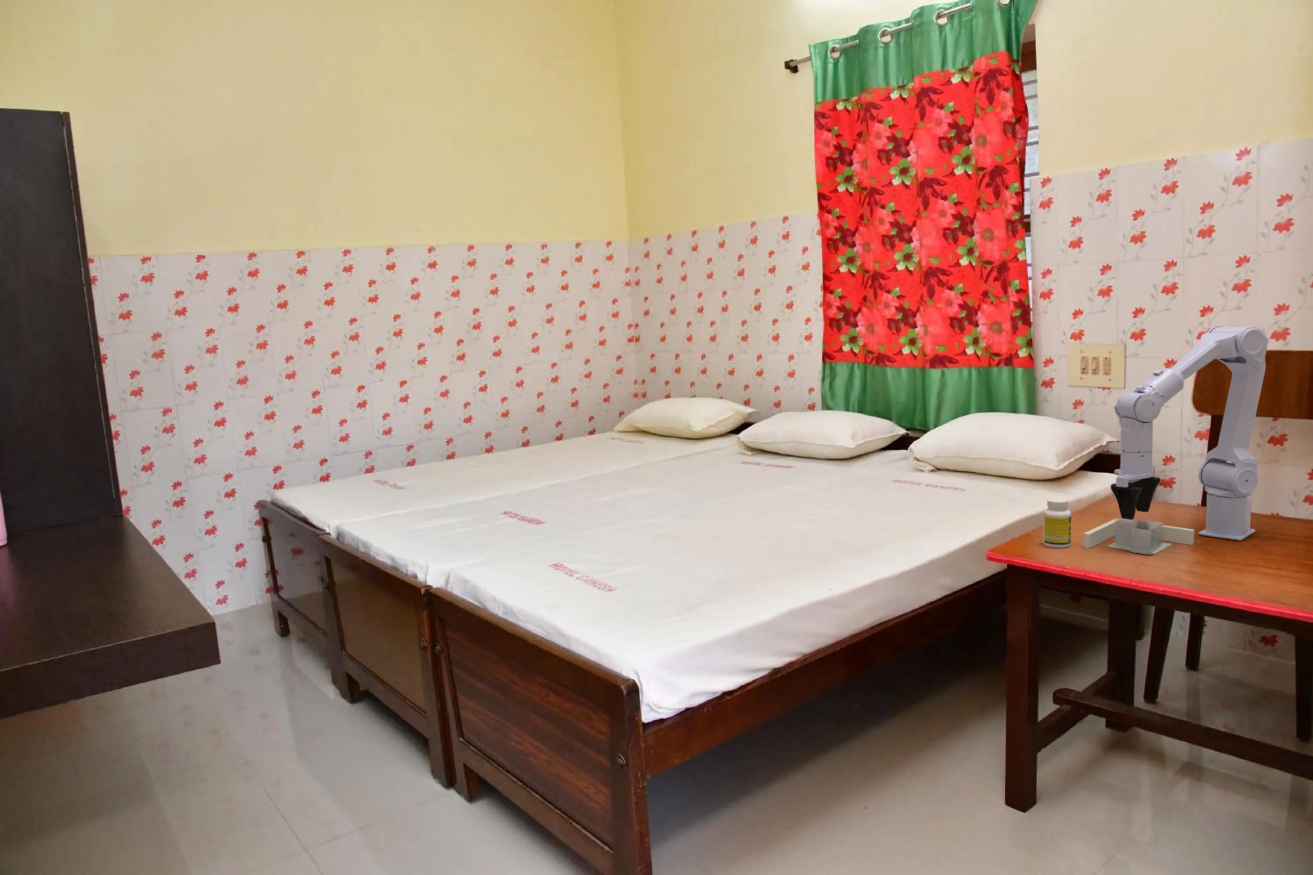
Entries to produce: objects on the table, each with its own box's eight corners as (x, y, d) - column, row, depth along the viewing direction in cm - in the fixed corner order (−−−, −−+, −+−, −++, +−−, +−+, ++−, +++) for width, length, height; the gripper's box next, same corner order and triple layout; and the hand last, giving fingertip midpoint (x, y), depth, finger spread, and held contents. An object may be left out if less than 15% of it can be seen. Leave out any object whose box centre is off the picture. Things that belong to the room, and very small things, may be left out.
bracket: (1162, 546, 180) (1163, 522, 180) (1150, 554, 175) (1150, 530, 175) (1120, 540, 186) (1121, 517, 185) (1107, 548, 181) (1108, 524, 180)
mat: (1125, 537, 188) (1125, 537, 188) (1171, 544, 182) (1171, 543, 182) (1107, 546, 183) (1107, 546, 183) (1154, 554, 176) (1154, 553, 176)
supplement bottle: (1073, 548, 183) (1074, 502, 182) (1046, 548, 184) (1046, 503, 183) (1067, 541, 188) (1067, 497, 187) (1040, 541, 189) (1040, 497, 188)
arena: (1115, 531, 193) (1115, 518, 193) (1193, 543, 182) (1194, 529, 181) (1083, 547, 184) (1083, 533, 183) (1164, 560, 172) (1164, 545, 171)
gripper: (1130, 443, 188) (1129, 505, 190) (1100, 454, 178) (1100, 519, 180) (1166, 446, 182) (1164, 510, 184) (1137, 457, 173) (1136, 524, 175)
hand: (1135, 515), depth 182 cm, fingers open, 7 cm apart
